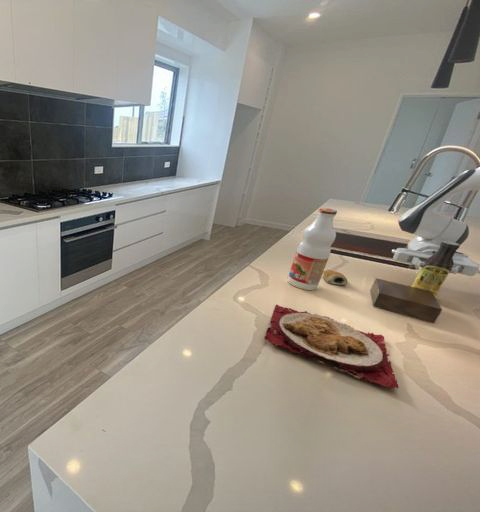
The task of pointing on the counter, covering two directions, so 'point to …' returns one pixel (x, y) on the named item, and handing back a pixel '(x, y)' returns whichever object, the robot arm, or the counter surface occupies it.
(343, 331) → the plate with food
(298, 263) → the fruit juice
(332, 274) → the pastry
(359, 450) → the counter surface
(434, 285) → the sauce bottle
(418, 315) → the riser
